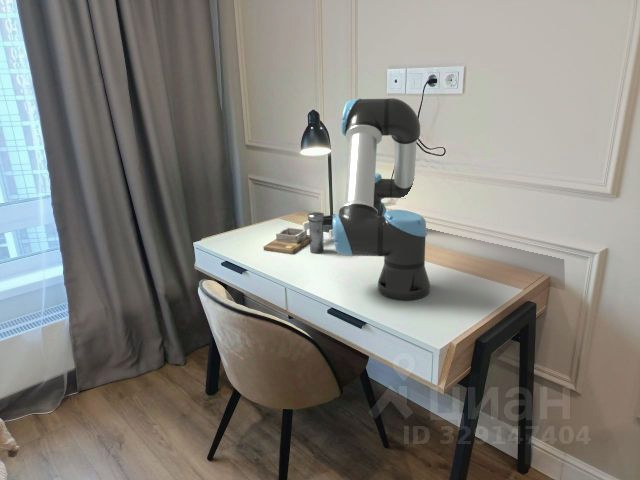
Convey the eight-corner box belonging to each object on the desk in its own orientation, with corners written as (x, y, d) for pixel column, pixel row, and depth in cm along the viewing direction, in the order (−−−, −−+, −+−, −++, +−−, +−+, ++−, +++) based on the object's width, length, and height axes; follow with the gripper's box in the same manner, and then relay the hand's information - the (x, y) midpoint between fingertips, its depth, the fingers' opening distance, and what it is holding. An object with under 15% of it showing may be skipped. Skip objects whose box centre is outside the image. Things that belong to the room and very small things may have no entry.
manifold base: (292, 254, 173) (291, 242, 171) (263, 250, 178) (262, 238, 176) (314, 239, 188) (313, 228, 187) (287, 235, 193) (286, 225, 192)
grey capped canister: (320, 254, 171) (319, 217, 167) (306, 252, 174) (304, 215, 169) (327, 249, 176) (326, 213, 172) (313, 247, 179) (312, 211, 174)
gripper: (380, 233, 180) (341, 247, 166) (332, 221, 197) (293, 233, 183) (380, 214, 177) (341, 227, 163) (332, 203, 194) (292, 214, 180)
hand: (316, 230), depth 173 cm, fingers open, 13 cm apart
